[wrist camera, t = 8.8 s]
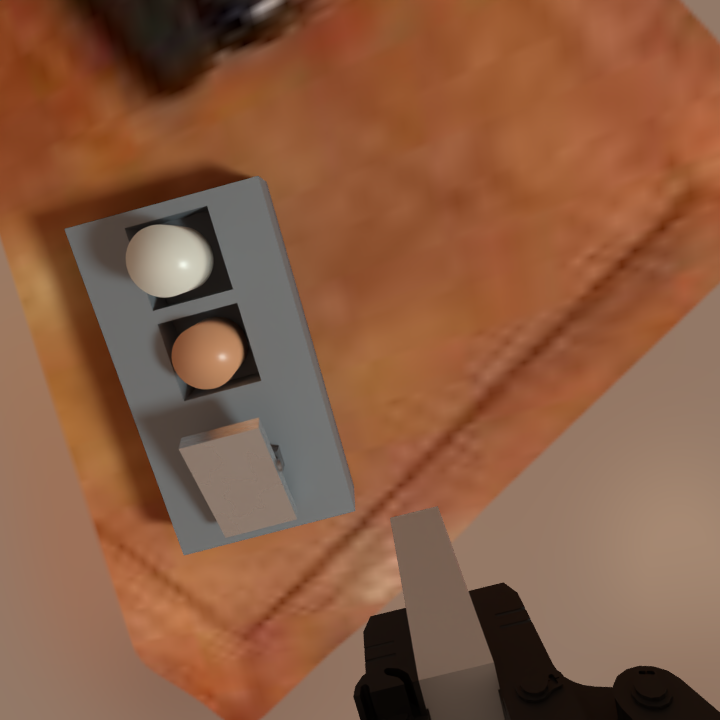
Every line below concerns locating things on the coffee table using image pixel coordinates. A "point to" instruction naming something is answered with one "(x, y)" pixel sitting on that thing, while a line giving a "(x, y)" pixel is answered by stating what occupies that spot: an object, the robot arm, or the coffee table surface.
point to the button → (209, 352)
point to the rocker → (239, 477)
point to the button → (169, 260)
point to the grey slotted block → (252, 379)
